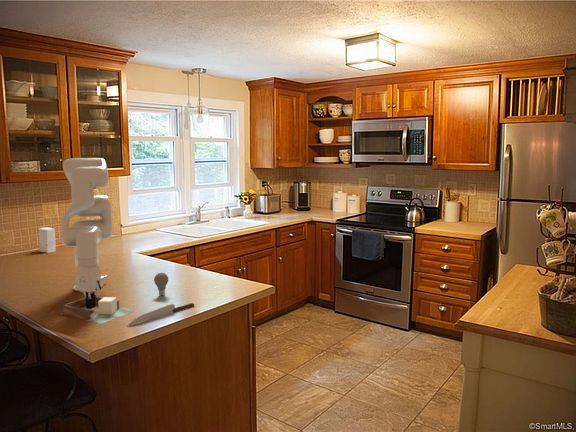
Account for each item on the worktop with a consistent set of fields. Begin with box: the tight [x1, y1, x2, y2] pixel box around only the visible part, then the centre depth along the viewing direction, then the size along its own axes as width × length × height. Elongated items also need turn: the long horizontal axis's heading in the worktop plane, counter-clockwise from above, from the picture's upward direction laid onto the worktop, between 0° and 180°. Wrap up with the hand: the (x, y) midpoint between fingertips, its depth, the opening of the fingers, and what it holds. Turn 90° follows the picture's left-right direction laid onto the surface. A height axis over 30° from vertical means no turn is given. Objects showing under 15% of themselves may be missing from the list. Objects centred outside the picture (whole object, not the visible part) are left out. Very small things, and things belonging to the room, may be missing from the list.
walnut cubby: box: [60, 295, 135, 325], centre depth 182 cm, size 16×23×4 cm
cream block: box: [98, 296, 118, 314], centre depth 182 cm, size 5×5×5 cm
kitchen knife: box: [126, 302, 195, 328], centre depth 180 cm, size 4×1×30 cm
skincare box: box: [38, 227, 57, 254], centre depth 295 cm, size 8×6×15 cm
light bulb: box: [153, 272, 169, 296], centre depth 205 cm, size 6×6×10 cm
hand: (91, 307), depth 183 cm, fingers closed
